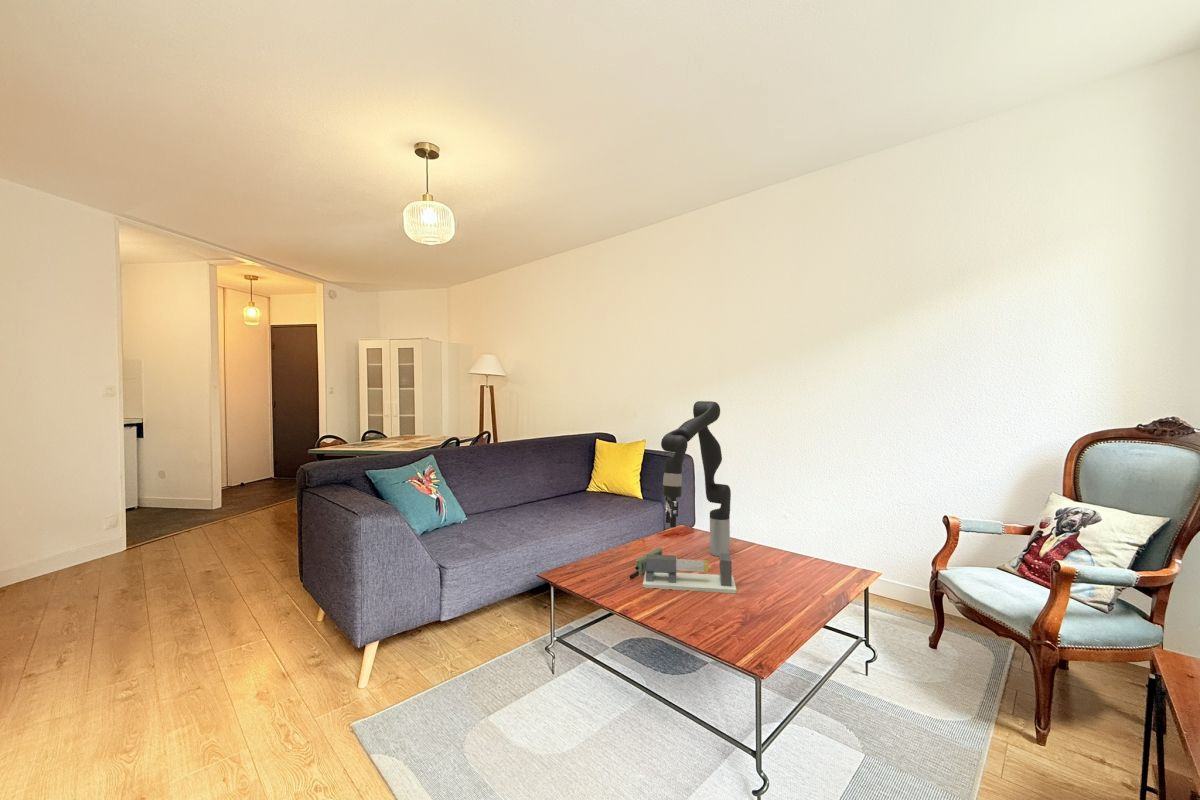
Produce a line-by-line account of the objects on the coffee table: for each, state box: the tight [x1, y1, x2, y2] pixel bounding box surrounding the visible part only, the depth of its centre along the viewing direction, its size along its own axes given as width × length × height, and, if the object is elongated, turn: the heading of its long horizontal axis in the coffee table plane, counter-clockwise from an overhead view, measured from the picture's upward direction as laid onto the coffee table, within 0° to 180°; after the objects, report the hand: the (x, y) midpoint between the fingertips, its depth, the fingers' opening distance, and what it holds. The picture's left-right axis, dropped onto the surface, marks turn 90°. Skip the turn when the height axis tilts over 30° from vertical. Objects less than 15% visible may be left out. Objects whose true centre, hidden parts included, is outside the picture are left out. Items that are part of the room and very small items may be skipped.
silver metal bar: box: [676, 558, 710, 573], centre depth 194 cm, size 3×24×3 cm, turn 80°
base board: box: [642, 572, 738, 594], centre depth 193 cm, size 14×36×2 cm, turn 80°
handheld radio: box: [628, 547, 663, 579], centre depth 208 cm, size 7×3×25 cm
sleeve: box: [646, 553, 677, 583], centre depth 195 cm, size 8×12×9 cm, turn 80°
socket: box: [719, 553, 733, 586], centre depth 190 cm, size 8×4×10 cm, turn 170°
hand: (670, 524), depth 192 cm, fingers open, 8 cm apart
